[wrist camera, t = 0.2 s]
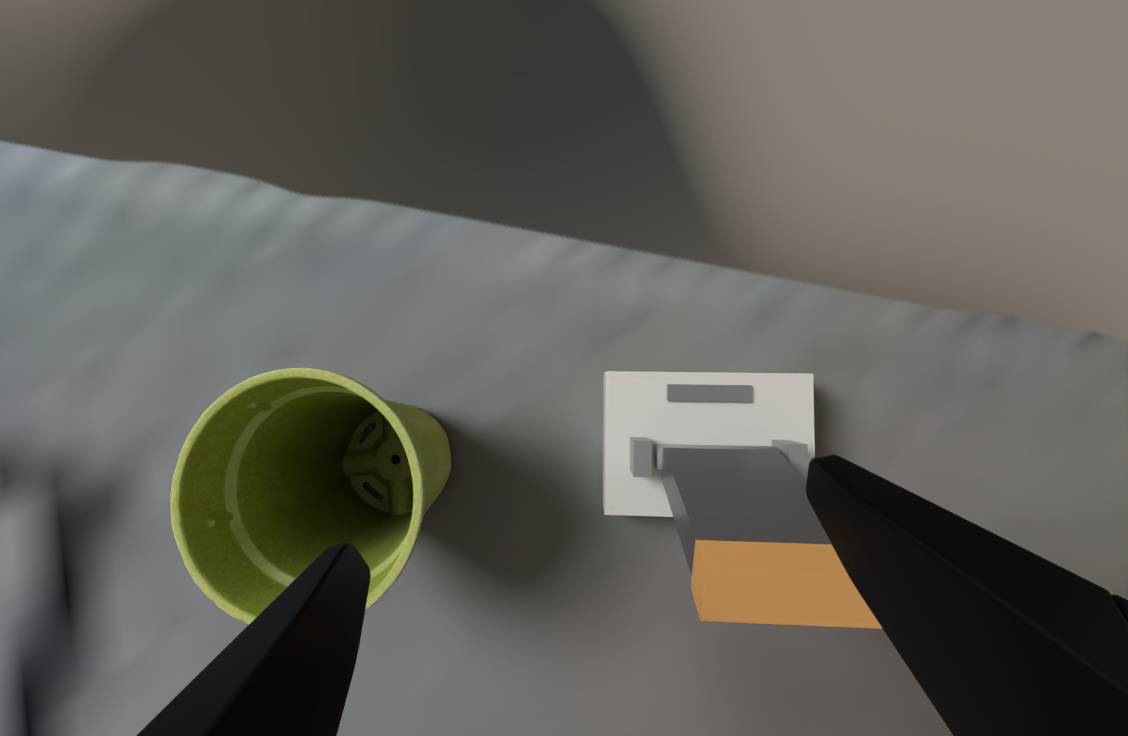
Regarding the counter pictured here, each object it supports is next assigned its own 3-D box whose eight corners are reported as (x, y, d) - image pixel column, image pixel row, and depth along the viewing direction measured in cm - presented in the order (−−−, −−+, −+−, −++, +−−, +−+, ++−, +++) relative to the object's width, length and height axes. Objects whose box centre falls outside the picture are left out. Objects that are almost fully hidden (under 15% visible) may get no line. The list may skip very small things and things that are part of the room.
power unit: (790, 506, 22) (837, 533, 18) (602, 501, 23) (606, 526, 18) (788, 375, 22) (834, 372, 18) (603, 373, 23) (607, 369, 19)
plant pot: (516, 441, 23) (474, 470, 14) (416, 578, 23) (314, 691, 14) (386, 344, 24) (272, 317, 15) (289, 476, 24) (118, 526, 15)
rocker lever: (766, 469, 20) (892, 629, 12) (652, 467, 20) (696, 620, 12) (772, 435, 19) (907, 577, 11) (654, 433, 20) (703, 569, 11)
